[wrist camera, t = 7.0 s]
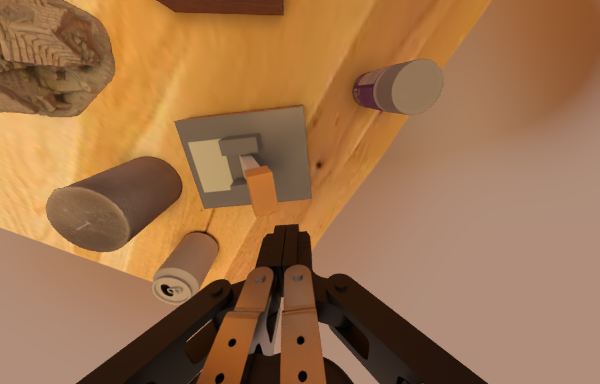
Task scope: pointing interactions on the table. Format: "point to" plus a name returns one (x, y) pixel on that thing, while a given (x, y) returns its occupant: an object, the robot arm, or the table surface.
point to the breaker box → (241, 140)
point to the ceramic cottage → (51, 58)
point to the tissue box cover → (226, 6)
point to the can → (185, 269)
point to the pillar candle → (113, 203)
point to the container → (400, 87)
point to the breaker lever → (259, 186)
